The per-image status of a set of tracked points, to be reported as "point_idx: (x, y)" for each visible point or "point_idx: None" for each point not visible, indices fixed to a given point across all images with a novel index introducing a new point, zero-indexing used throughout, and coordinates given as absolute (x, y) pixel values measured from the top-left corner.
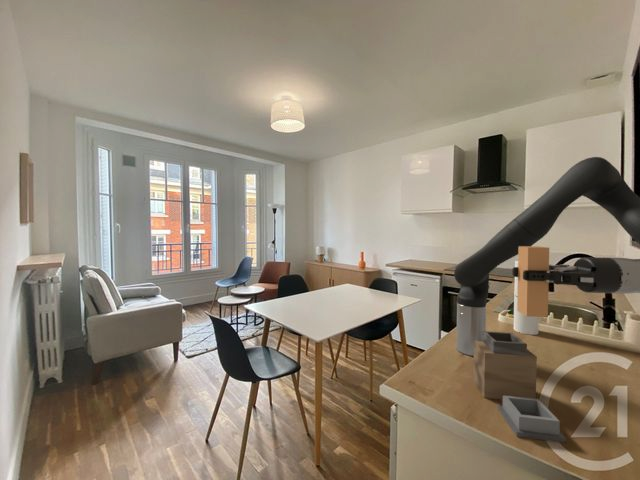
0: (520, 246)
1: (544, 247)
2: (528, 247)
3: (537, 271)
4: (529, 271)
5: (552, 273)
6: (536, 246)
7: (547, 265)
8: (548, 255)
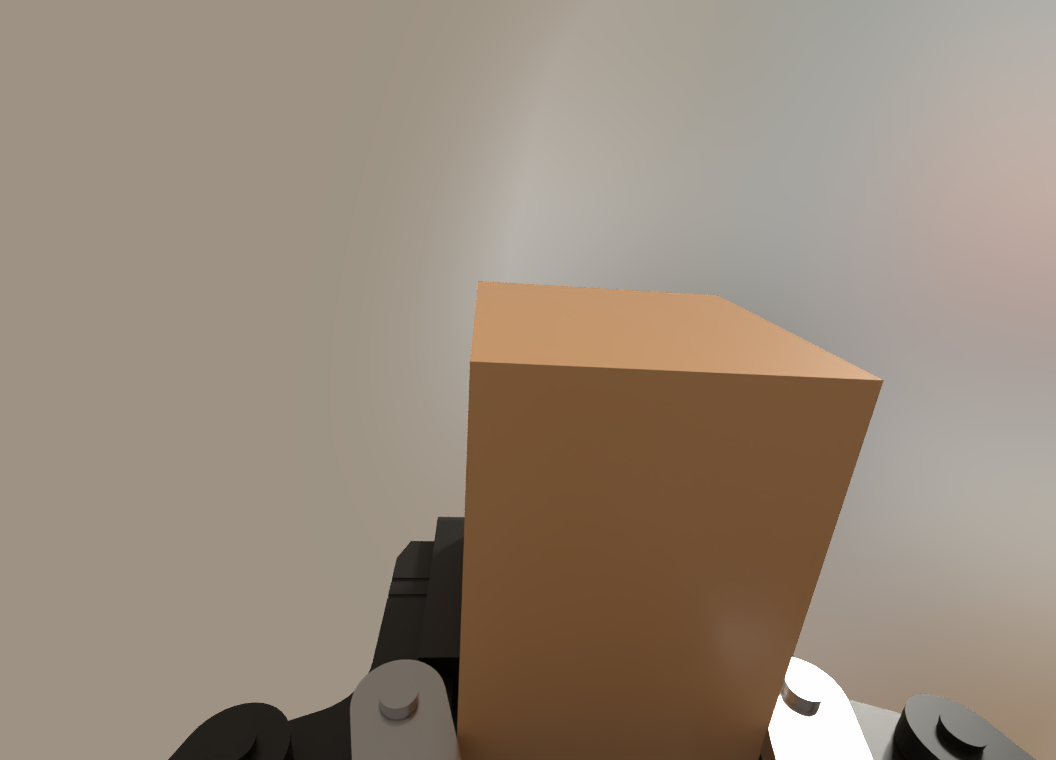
0: (704, 297)
1: (512, 341)
2: (497, 284)
3: (424, 599)
4: (433, 542)
5: (333, 748)
6: (824, 361)
7: (463, 655)
8: (470, 512)
